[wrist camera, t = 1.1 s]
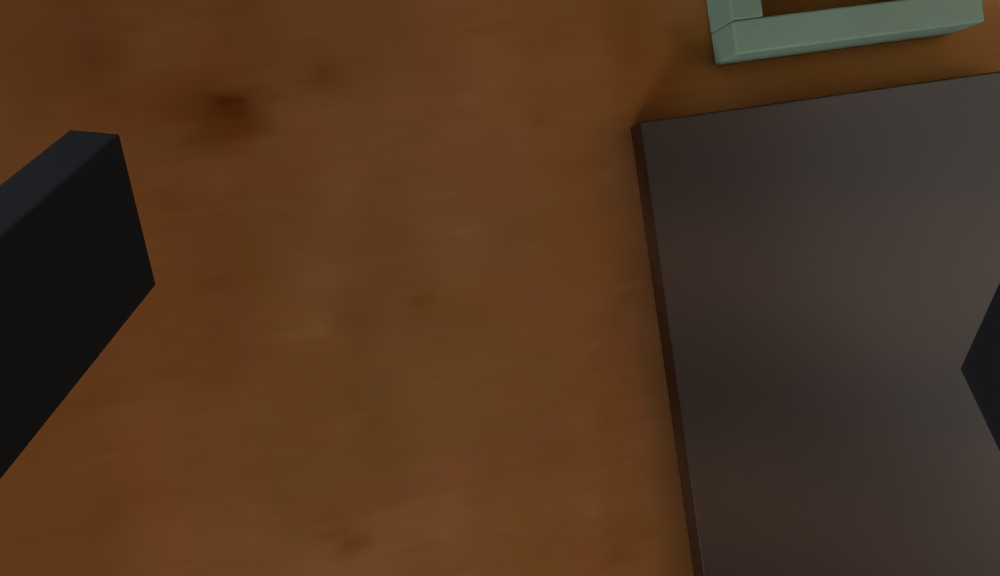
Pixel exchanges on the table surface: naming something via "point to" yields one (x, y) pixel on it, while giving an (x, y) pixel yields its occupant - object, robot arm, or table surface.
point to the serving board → (830, 327)
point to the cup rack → (830, 26)
